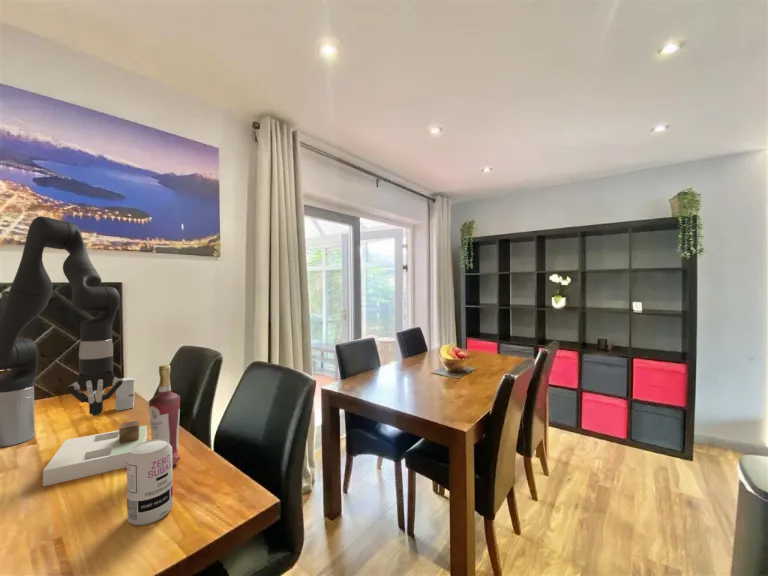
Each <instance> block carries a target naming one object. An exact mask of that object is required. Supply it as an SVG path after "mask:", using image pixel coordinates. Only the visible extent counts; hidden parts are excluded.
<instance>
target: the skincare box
mask: <svg viewBox="0 0 768 576" xmlns="http://www.w3.org/2000/svg"><path fill="white" fill-rule="evenodd" d="M122 379H123V380H124V381H123V383H122V384H121V386H120V387H119V388H118V389H117V390H116V391H115V409H114V410H115V412H117V411H125V410H131V409H130V408H132V409H134V406H135V377H123V378H122Z"/></svg>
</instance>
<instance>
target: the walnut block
mask: <svg viewBox="0 0 768 576" xmlns="http://www.w3.org/2000/svg"><path fill="white" fill-rule="evenodd" d="M139 427H140V420H133V421H132V420H131V421H127V422H121V423H120V425H119V428H118V429H119V444H122V443H127V442H132V441H137V440H139V435H140V434H139Z"/></svg>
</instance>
